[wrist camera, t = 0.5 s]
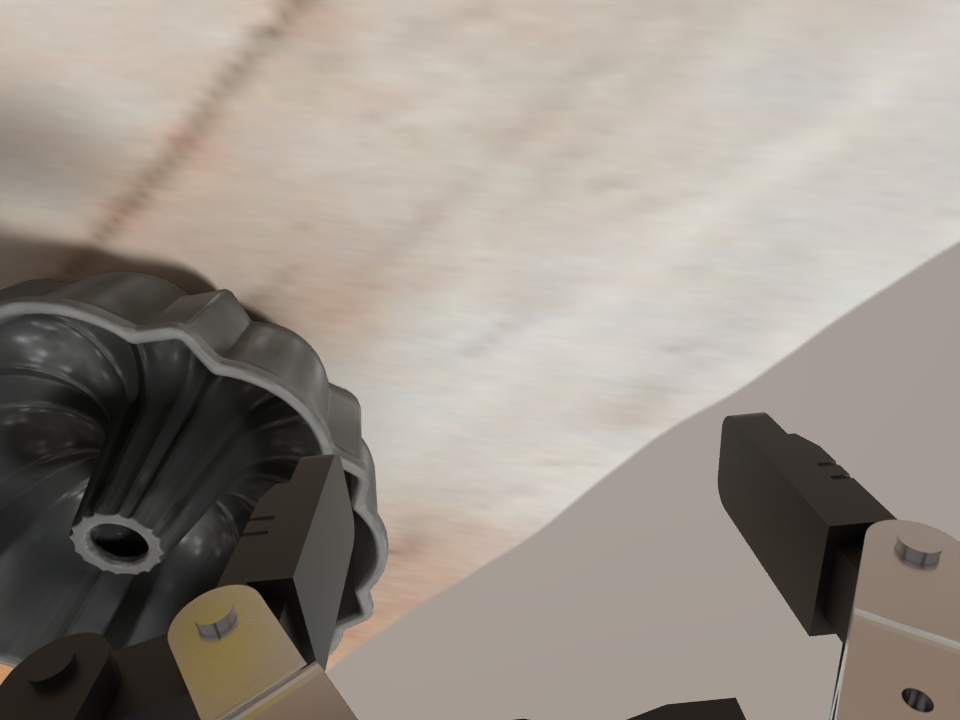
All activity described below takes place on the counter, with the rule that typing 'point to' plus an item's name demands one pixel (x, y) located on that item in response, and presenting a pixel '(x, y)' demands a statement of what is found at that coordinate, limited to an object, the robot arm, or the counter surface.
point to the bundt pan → (153, 454)
